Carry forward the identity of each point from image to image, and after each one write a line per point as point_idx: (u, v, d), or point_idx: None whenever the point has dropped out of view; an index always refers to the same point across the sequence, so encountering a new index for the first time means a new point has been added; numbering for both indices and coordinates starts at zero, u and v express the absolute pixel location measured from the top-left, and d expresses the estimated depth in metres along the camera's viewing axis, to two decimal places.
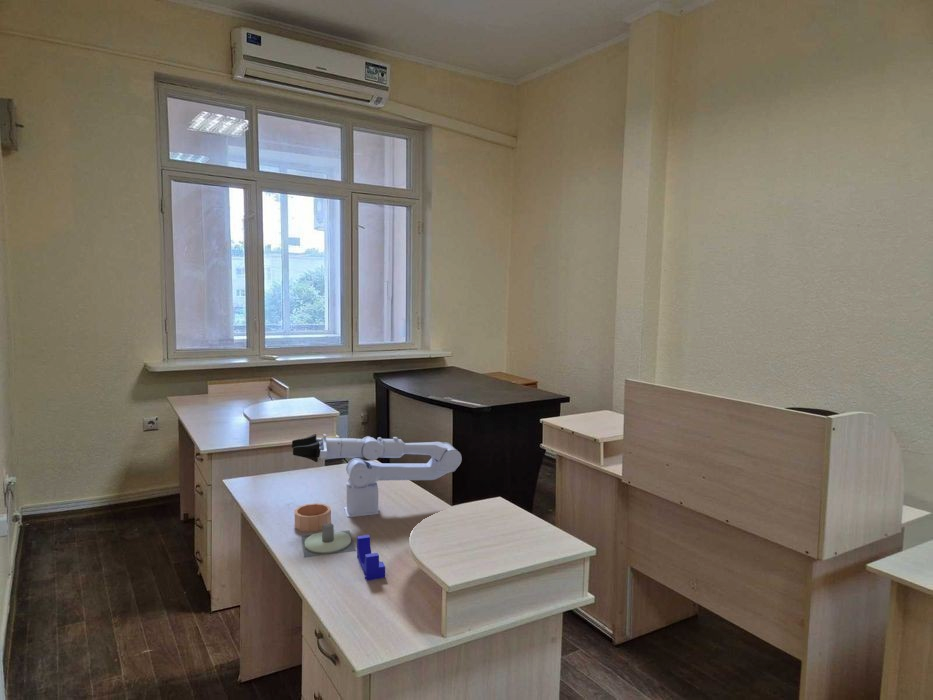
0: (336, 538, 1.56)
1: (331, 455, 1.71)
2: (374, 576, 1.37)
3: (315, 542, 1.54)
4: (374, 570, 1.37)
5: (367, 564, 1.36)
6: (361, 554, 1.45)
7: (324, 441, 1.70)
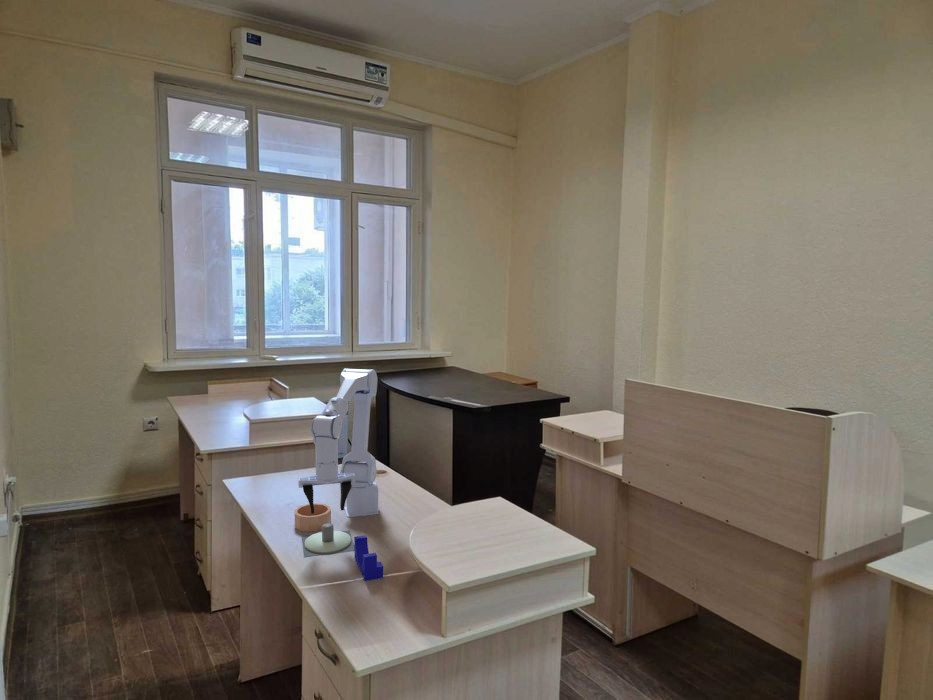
0: (336, 538, 1.56)
1: None
2: (372, 576, 1.37)
3: (315, 542, 1.54)
4: (372, 571, 1.37)
5: (365, 564, 1.36)
6: (358, 554, 1.45)
7: (336, 480, 1.52)
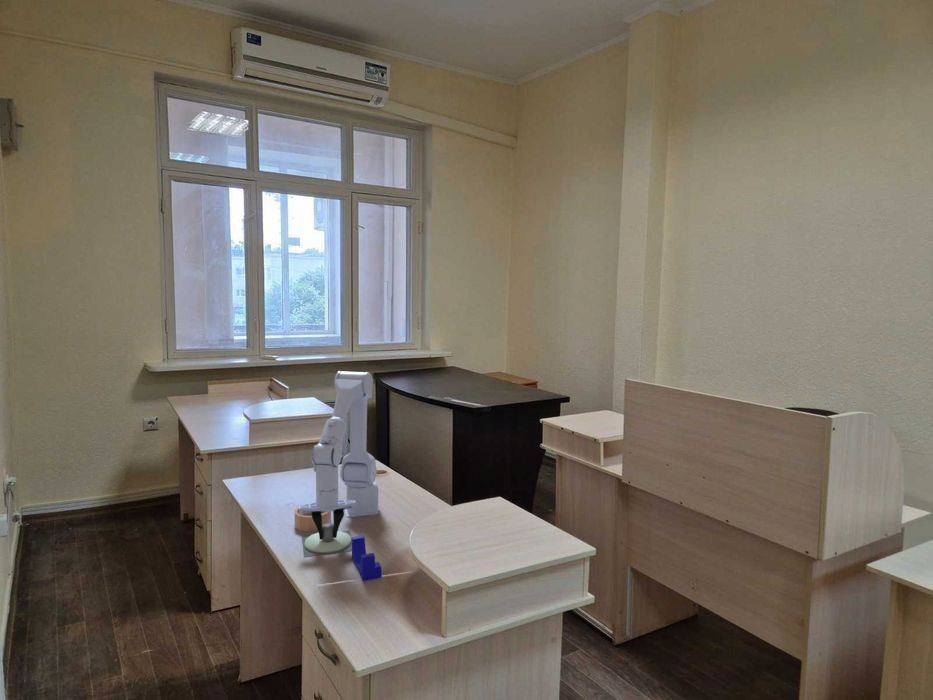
0: (336, 538, 1.56)
1: None
2: (370, 576, 1.37)
3: (315, 542, 1.54)
4: (370, 571, 1.37)
5: (363, 565, 1.36)
6: (356, 555, 1.44)
7: (336, 508, 1.52)
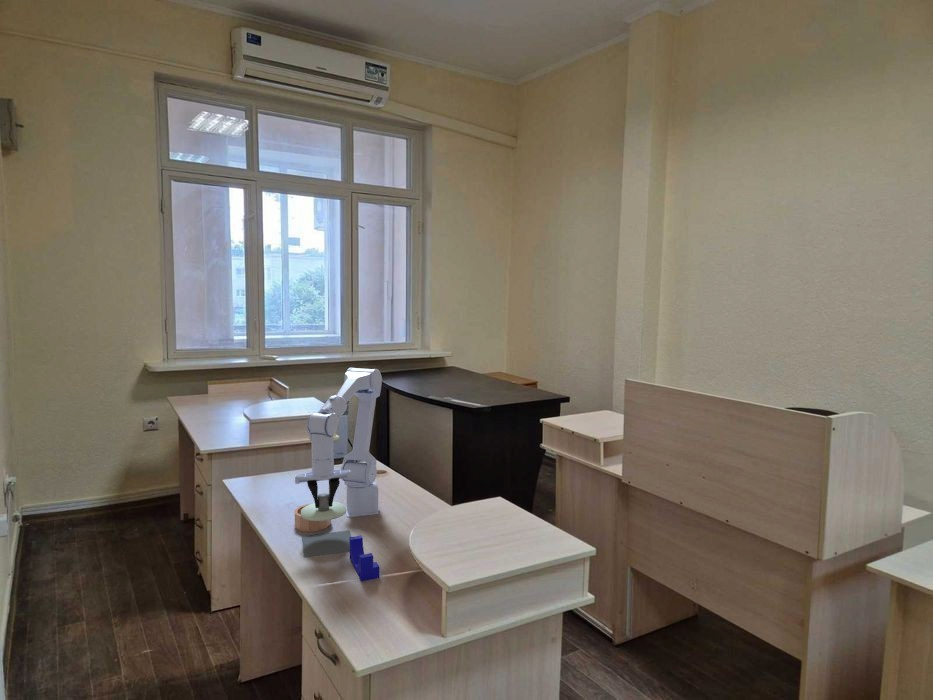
0: (331, 508, 1.58)
1: None
2: (368, 576, 1.37)
3: (311, 511, 1.56)
4: (368, 571, 1.37)
5: (361, 565, 1.36)
6: (354, 555, 1.44)
7: (332, 477, 1.55)
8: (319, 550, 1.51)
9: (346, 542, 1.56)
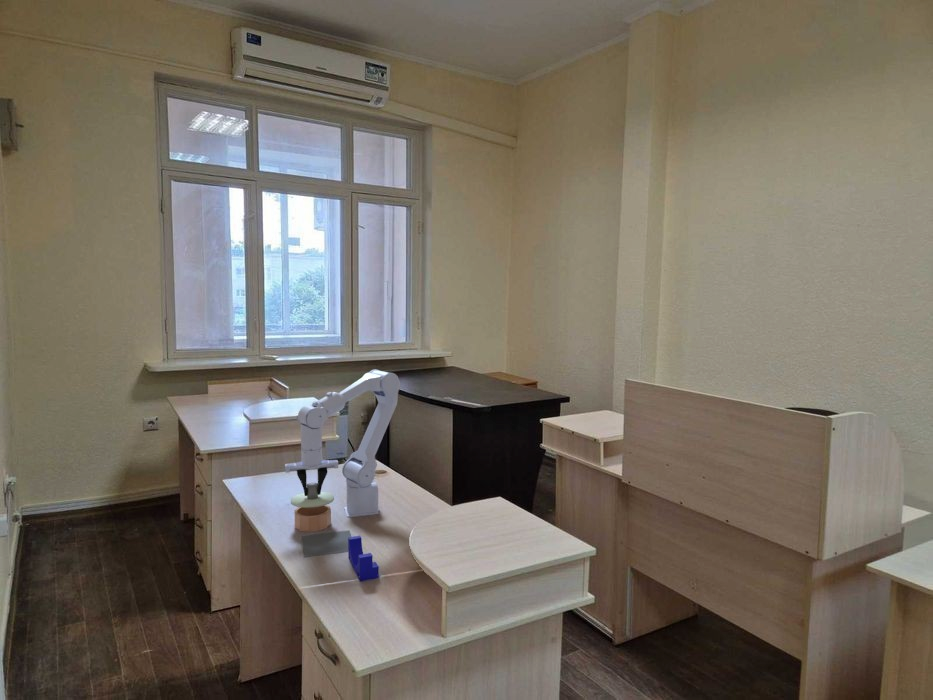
0: (320, 496, 1.67)
1: None
2: (368, 576, 1.37)
3: (300, 499, 1.65)
4: (368, 571, 1.37)
5: (361, 565, 1.36)
6: (353, 555, 1.44)
7: (320, 466, 1.64)
8: (319, 550, 1.51)
9: (346, 542, 1.56)
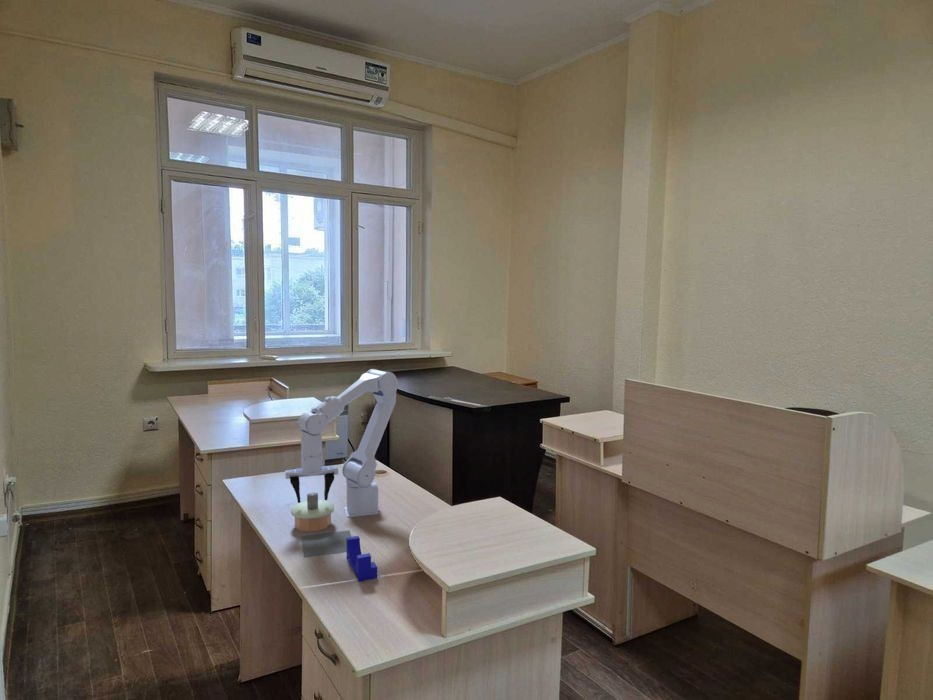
0: (320, 506, 1.67)
1: None
2: (366, 577, 1.37)
3: (301, 509, 1.65)
4: (366, 571, 1.37)
5: (359, 565, 1.36)
6: (351, 555, 1.44)
7: (320, 472, 1.64)
8: (319, 550, 1.51)
9: (346, 542, 1.56)
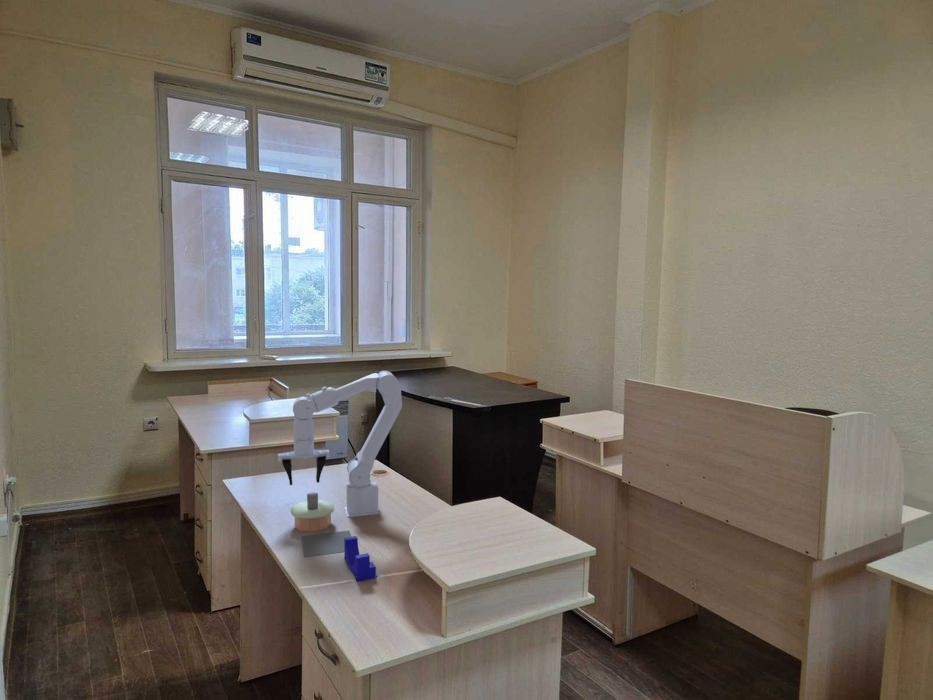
0: (320, 506, 1.67)
1: None
2: (365, 577, 1.37)
3: (301, 509, 1.65)
4: (365, 571, 1.37)
5: (358, 565, 1.36)
6: (349, 555, 1.44)
7: (312, 455, 1.70)
8: (319, 550, 1.51)
9: None
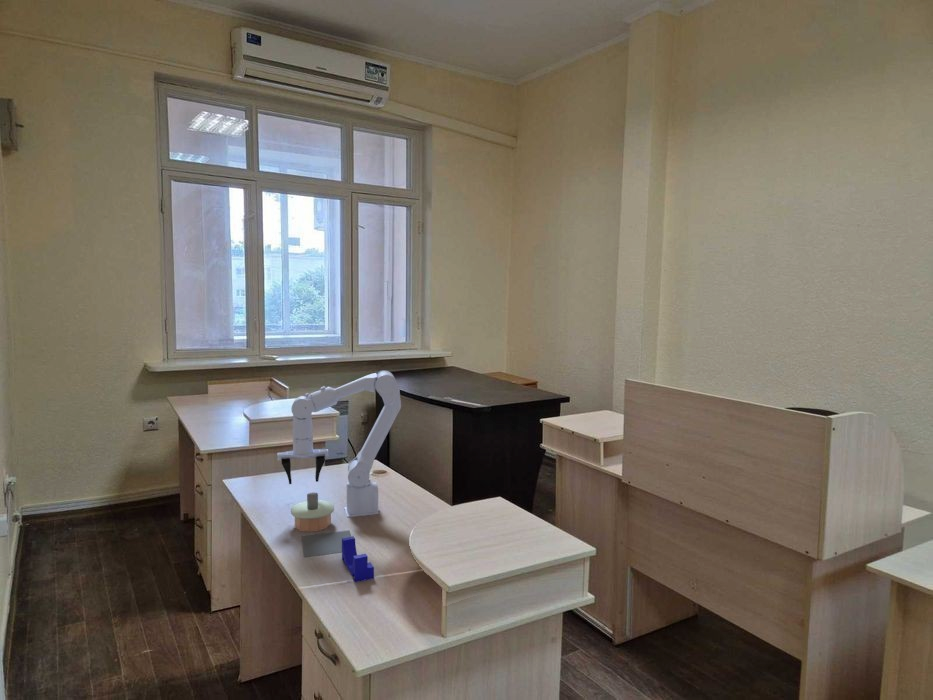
0: (320, 506, 1.67)
1: None
2: (363, 577, 1.37)
3: (301, 509, 1.65)
4: (363, 572, 1.37)
5: (356, 565, 1.36)
6: (347, 556, 1.44)
7: (311, 455, 1.71)
8: (319, 550, 1.51)
9: None
